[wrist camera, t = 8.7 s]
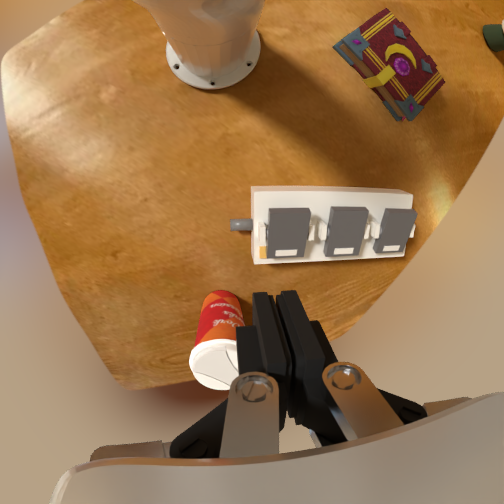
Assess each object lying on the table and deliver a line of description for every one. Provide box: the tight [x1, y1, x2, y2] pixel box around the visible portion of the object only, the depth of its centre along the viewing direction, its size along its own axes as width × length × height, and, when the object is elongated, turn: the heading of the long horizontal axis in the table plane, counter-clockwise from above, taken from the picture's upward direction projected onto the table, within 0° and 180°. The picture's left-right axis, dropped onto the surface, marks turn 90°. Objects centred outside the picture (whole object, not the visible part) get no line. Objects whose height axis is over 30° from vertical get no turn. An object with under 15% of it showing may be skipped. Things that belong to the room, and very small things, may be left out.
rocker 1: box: [266, 208, 311, 259], centre depth 37 cm, size 7×5×2 cm
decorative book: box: [333, 8, 445, 121], centre depth 33 cm, size 11×16×5 cm
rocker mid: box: [323, 206, 369, 257], centre depth 38 cm, size 7×5×2 cm
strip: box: [230, 186, 415, 264], centre depth 40 cm, size 10×27×6 cm, turn 90°
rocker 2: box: [373, 208, 417, 254], centre depth 39 cm, size 7×5×2 cm
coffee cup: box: [189, 290, 245, 390], centre depth 40 cm, size 8×8×15 cm
